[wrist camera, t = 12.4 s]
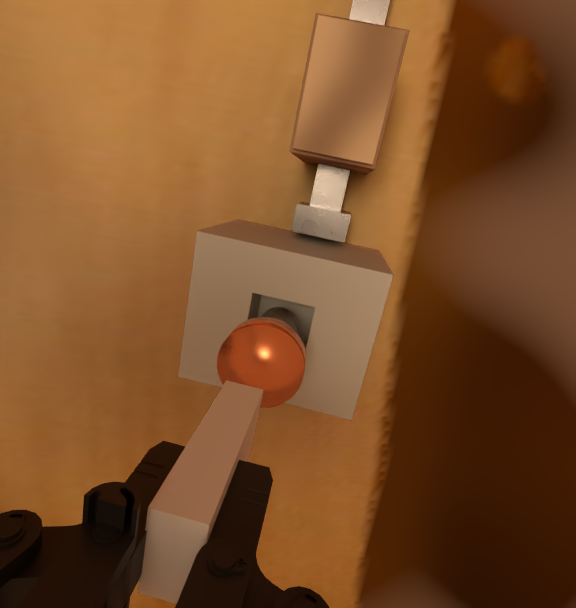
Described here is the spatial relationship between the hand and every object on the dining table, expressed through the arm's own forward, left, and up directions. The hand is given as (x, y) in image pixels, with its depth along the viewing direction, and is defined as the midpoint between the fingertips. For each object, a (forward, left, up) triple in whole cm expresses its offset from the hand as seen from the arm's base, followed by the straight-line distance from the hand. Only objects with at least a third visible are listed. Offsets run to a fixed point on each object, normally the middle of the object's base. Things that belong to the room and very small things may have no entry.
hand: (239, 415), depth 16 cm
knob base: (0, 0, -20) cm, 20 cm away
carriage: (+1, +14, -20) cm, 24 cm away
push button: (0, 0, -11) cm, 11 cm away
